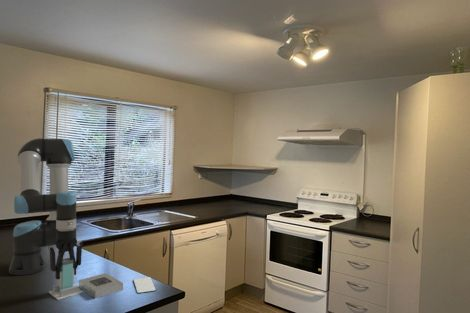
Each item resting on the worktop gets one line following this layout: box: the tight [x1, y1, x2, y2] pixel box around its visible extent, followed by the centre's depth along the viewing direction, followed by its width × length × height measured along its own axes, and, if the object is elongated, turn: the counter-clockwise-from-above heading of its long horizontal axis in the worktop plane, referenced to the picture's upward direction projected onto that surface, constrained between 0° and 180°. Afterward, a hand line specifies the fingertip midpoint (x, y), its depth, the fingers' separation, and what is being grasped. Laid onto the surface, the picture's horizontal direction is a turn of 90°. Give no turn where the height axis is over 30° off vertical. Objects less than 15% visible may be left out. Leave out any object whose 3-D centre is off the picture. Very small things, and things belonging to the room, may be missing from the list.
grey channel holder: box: [48, 283, 84, 301], centre depth 142 cm, size 10×10×3 cm
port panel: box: [78, 273, 124, 299], centre depth 147 cm, size 16×12×3 cm
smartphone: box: [132, 276, 157, 295], centre depth 151 cm, size 8×1×16 cm
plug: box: [59, 257, 74, 290], centre depth 142 cm, size 4×4×12 cm
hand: (65, 284), depth 143 cm, fingers closed on plug, 4 cm apart
